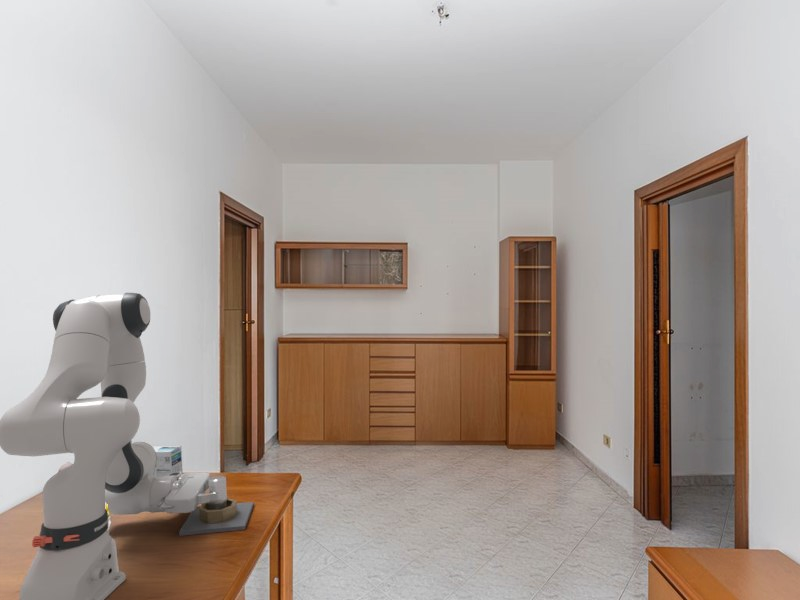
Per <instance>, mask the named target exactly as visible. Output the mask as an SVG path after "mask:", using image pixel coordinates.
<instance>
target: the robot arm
mask: <svg viewBox="0 0 800 600" xmlns="http://www.w3.org/2000/svg"><path fill="white" fill-rule="evenodd" d="M52 322H53V328H54V330H55V333H54V334H55V335H54V339H53V344H52V351H51V355H50V360H49V363H48V368H47V370H46V373H45V375H44V377H43V379H42V380H41V381H40V383H39V384H38V386H37V387H36V388H35V389H34V390H33V392H32V393H31V394H29V395H28V396H27V397H26V398H24V400H22V401H21V402H19V403H18V404H16V405H14V406H13V407H11V408H9V409H8V410H7V411H6V412H4V414H3V415H2V417H0V449H1V450H2V451H3V452H4V453H5V454H7V455H9V456H10V455H11V456H17V457H18V456H21V457H43V456H52V455H60V454H73V455H74V462H73V463H72V465H71V466H69V467H67V468H65V469H63V470H61V471H60V472H58V471H57V474H56V473H55V474H53V475H52V476H51V477H50V478H49V479H48V480H47V481H46V483H45V484H44V486H43V489H42V493H41V494H42V515H43V516H42V517H43V518H42V519H43V522H42V524H41V527H40V531H39V535H35V536H33V539H32V541H31V542H32V543H31V544H32V547H33V548H38V550H37V552H36V555H35V557H34V558H33V559H32V563H31V564H30V566H29V569H28V571H27V573H26V575H25V578H24V580H23V581H22V584H21V587H20V590H19V600H105V599H106V598H108V596H110V595H111V594H112V593H113V592H114V591H115V590H116V589H117V588H118V587H119V586H120V585H121V584H122V583H123V582H124V581H126V578H127V577H126V576H127V575H126V573H125V571H121V570H120V568H119V567H120V566H119V560H118V550H117V544H116V540H115V539H114V538H113V537H112V536H111V535H110V534H109V531H108V528H109V515H114V516H115V515H116V516H118V515H119V516H122V515H123V516H128V515H129V516H131V515H138V514H141V513H144V512H146V513H151V514H152V513H167V514H187V513H188V514H189V513H191V512H192V511H194V510H195V509H196V507H197V506H198V505H202V504H203V503H206V502H209V501H216V500H217V498H218V492H211V493H209V492H208V493H207V491H209V479H210V478H212V477H211V473H209V472H205V471H204V472H203V471H202V472H201V471H200V472H198V471H197V472H196V471H195V472H184V473H183V474H182V472H174V473H172V474H170V475H168V476H163V477H154V472H155V467H156V459H157V457H156V452H155V450H154V449H153V447H152V446H153V445H150V444H149V443H147V442H145V441H135V442H133V441H132V439H134V437H136V435H137V433H138V430H139V428H140V424H141V423H140V422H141V417H140V412H139V410H138V407H137V406H136V405H135V401H136V400H137V398H138V396H139V395H140V394H141V393H142V391H143V390H144V389H145V386H146V383H147V382H146V381H147V380H146V379H147V366H146V360H145V359H146V358H145V351H144V348H143V343H142V341H141V338H140V337H141V336H142V334H143V332H145V331H146V330H147V328H148V327H149V325H150V322H151V308H150V306H149V303H148V300H147V299H146V298H145V297H144V296H143V295H142V294H141V293H137V292H125V293H117V294H115V293H113V294H103V295H101V294H99V295H93V296H87V297H82V298H78V299H69V300H67V301H64V302H62V303H59V305H58V306H57V307H56V308H55V310H54V311H53V314H52ZM99 384H100V388H101V389H100V391H101V396H97V397H85V398H84V397H83V398H79V397H80V396H81V395H83V393H85V392H86V391H88V390H90V389H93V388H95V387H96V386H97V385H99ZM105 502H106V503H107V504H108V509H109V514H108V513H107V510H106V509H105Z"/></svg>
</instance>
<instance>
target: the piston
mask: <svg viewBox="0 0 800 600" xmlns="http://www.w3.org/2000/svg"><path fill="white" fill-rule="evenodd" d="M211 492H218V498H217V500H216V501H209V505H210V510H221V509H224V508H226V507H227V498H228V495H227V477H226V476H224V475H217V476H212V477H211V478H210V479H209V488H208V494H209V493H211Z"/></svg>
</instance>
